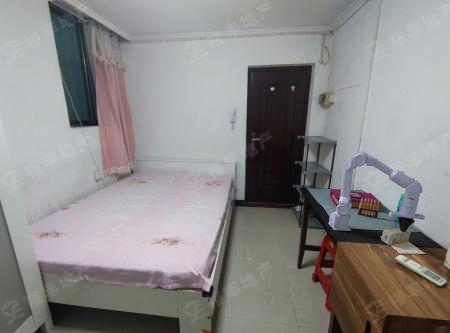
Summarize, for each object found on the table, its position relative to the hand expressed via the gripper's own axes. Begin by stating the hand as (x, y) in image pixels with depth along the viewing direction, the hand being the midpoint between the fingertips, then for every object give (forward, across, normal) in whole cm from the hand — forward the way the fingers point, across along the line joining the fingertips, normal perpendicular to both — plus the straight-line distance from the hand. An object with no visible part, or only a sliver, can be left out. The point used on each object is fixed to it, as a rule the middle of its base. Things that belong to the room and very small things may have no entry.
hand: (402, 231), depth 106 cm
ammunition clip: (+8, 0, -32) cm, 33 cm away
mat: (+8, -1, 0) cm, 8 cm away
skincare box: (+4, +7, 0) cm, 8 cm away
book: (+9, +1, -53) cm, 54 cm away
